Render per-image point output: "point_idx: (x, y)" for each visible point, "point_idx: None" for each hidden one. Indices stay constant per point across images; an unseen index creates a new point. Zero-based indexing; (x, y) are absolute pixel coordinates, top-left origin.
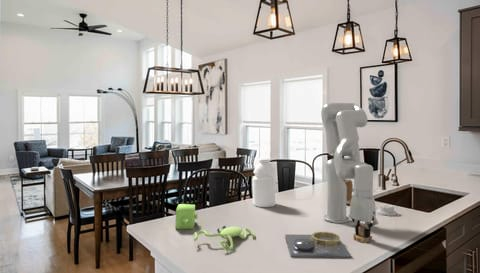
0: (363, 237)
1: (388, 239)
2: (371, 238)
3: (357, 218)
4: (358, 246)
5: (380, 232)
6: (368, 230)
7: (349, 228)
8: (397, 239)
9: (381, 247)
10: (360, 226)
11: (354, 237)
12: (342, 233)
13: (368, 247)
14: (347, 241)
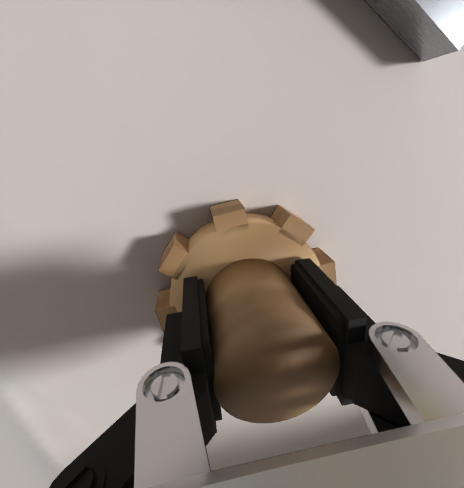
0: (214, 274)
1: None
2: (163, 326)
3: (445, 472)
4: (115, 82)
5: None
6: (161, 363)
7: None
8: None
9: (3, 280)
10: (308, 361)
11: (285, 214)
12: (439, 237)
13: (45, 164)
14: (290, 102)
